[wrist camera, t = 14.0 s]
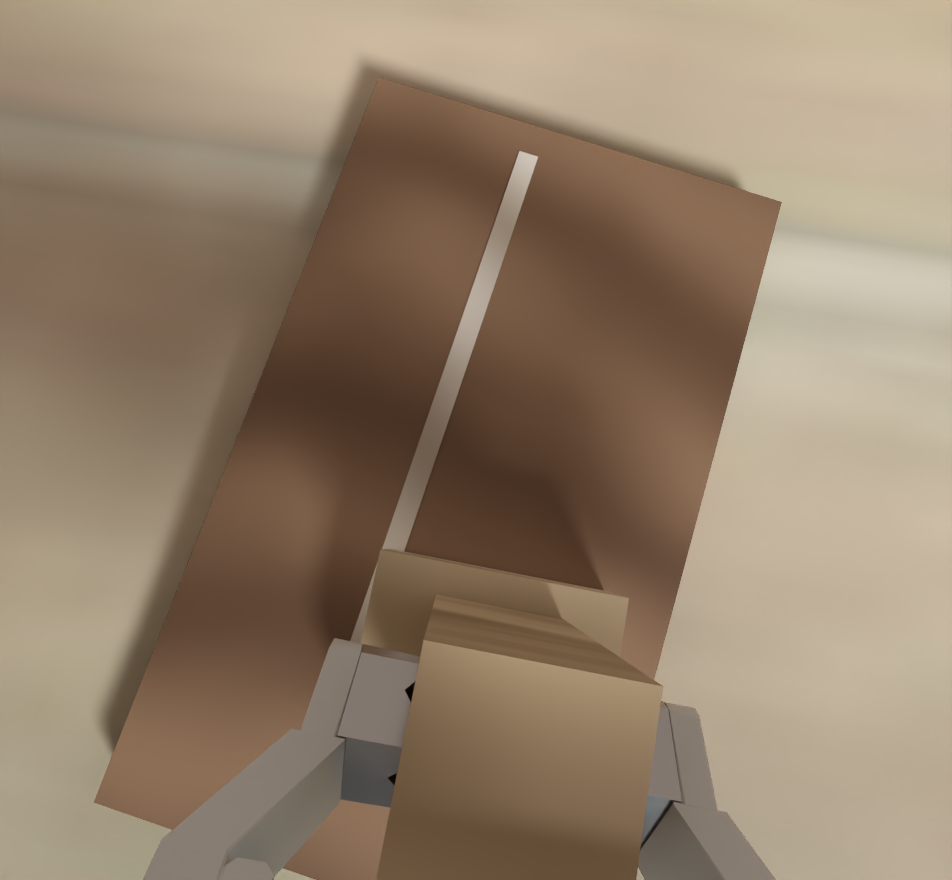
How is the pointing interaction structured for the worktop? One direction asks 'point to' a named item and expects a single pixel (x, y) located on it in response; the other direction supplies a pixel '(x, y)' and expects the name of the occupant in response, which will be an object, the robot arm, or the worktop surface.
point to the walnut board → (451, 425)
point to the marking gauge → (512, 726)
